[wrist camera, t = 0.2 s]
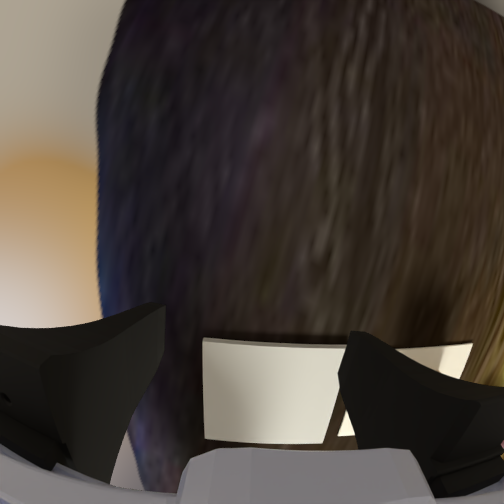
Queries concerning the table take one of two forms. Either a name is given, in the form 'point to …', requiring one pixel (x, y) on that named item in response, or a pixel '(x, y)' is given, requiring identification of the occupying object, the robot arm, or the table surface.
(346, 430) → the cream card
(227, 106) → the table surface
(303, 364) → the grey mat
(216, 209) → the table surface
